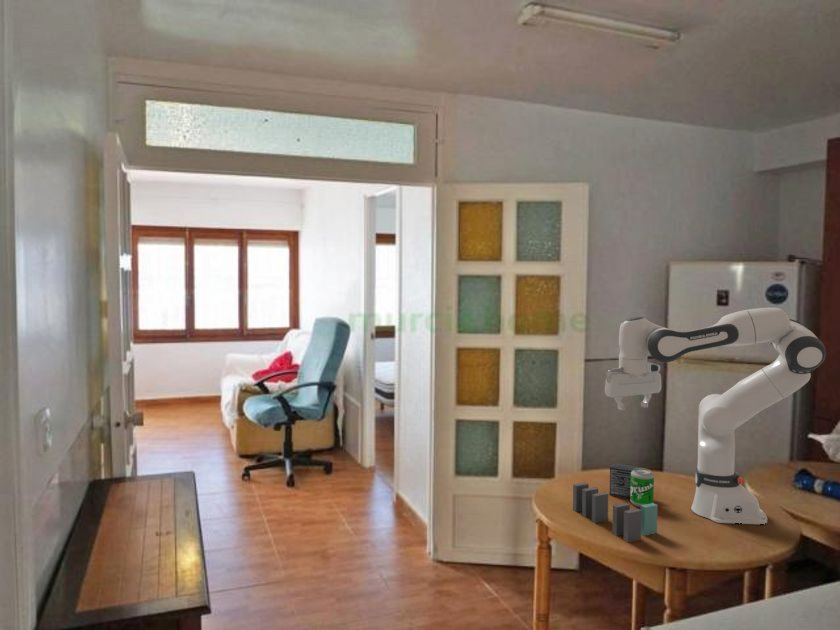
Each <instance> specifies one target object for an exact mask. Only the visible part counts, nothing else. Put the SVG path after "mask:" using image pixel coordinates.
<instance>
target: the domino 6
mask: <svg viewBox="0 0 840 630" xmlns="http://www.w3.org/2000/svg"><path fill="white" fill-rule="evenodd" d="M640 510H641V534H642V535H641V536H643V535H644V536H643V537H646V536H645V535H647V536H650V534H652V535H656V534H658V504H657V503H654V502H653V503H651V504H646V505H641V508H640ZM655 533H656V534H655Z"/></svg>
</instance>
